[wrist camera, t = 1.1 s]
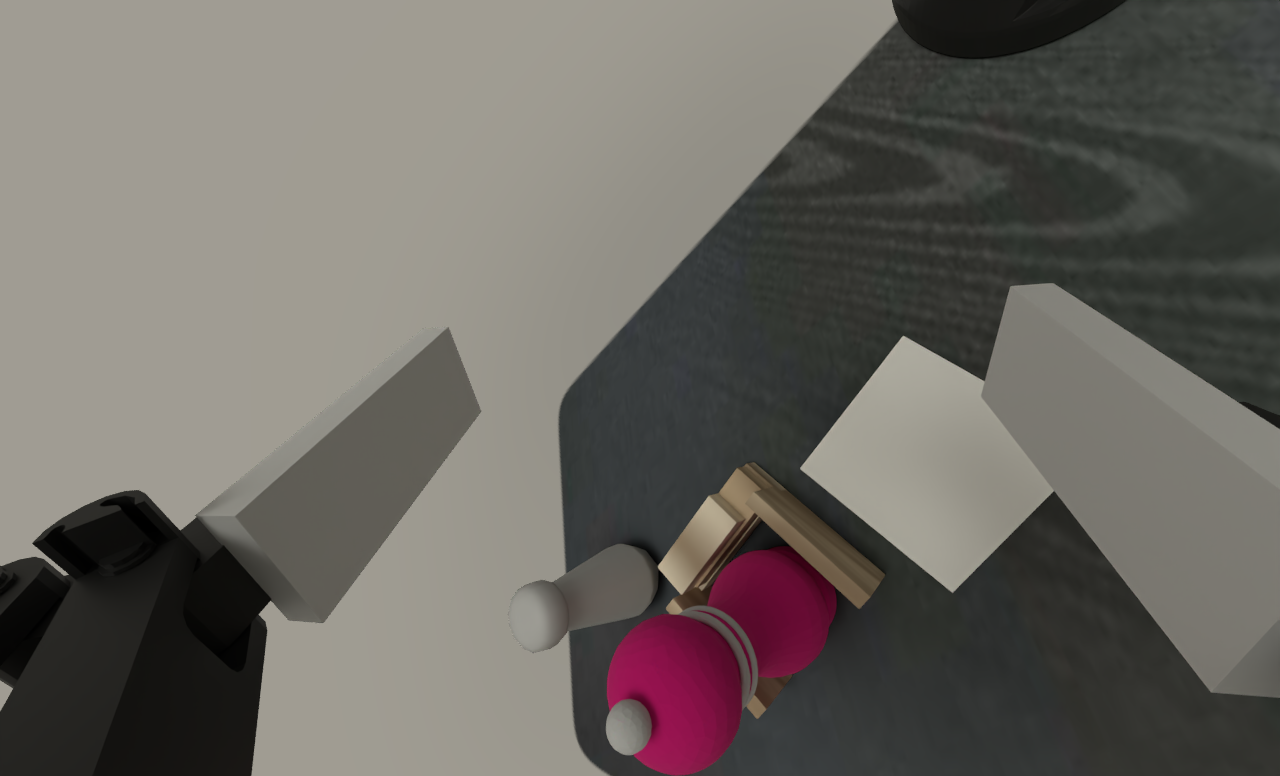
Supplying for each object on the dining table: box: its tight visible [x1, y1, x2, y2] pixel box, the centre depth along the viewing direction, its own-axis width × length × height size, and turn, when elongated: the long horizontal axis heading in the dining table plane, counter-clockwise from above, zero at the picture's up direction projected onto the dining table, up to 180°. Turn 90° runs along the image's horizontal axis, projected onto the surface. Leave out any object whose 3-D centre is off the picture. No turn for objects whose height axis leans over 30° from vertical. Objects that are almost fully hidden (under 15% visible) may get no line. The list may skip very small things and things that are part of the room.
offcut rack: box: [658, 462, 885, 719], centre depth 33 cm, size 11×11×5 cm
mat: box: [800, 336, 1054, 593], centre depth 30 cm, size 11×11×1 cm
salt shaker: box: [508, 544, 659, 653], centre depth 36 cm, size 6×6×13 cm
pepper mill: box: [606, 546, 837, 775], centre depth 26 cm, size 7×7×20 cm
